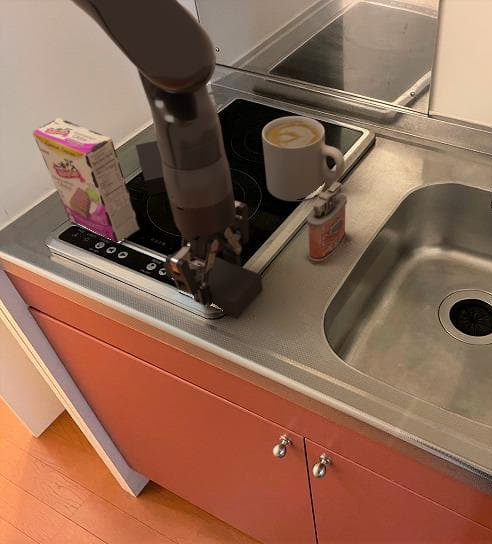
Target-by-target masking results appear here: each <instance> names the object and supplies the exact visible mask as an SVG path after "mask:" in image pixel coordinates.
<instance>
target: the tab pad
mask: <svg viewBox="0 0 492 544" xmlns="http://www.w3.org/2000/svg"><path fill="white" fill-rule="evenodd" d="M179 251H180V249H179V250H176V251H175V252H174V253H173V254H172V255H173V256H175V255H176V254H177V253H178V252H179ZM196 259H197V260H198V261H200V262H203V263H205V260H202V259H199V258H197V257H196ZM162 265H163V268H164V271H165V275H166V277H167V276H168V277H170V278H173V277H172V275H171V273H170V271H169V268H168V266H167V264H166V260H165V261H164V262H163V264H162ZM196 276H198V277H200V272H199V271H198V270H197V271H196ZM167 279H168V280H169V281H172V282H174V280H172V279H169V278H167ZM208 284H209V287H210V292H211V298H212V303H213V304H215V305H217V306H218V307H219V308H221V309H222V310H223V311H222V310H220V309H217V308H215V307H213V306H209V307H210V308H213V309H214V310H217V311H219V312H222V313H224V314H225V315H226V314H227V315H229V316H231V317H233V318H236V319H239V318H240V317H241V315H242V314H243V313H244V312H245V311H246V310H247V309H248V307H249V306H250V305H251V304H253V302H254V301H255V299H256V298H257V297H259V295H260V294H261V293H262V292H263V281H262V275H261V273H258V272H255V271H252V270H250V269H247V268H245V267H242V266H241V267H240V266H238V265H235V264H232V263H230V262H227V261H225V260H224V259H223V258H220V257H217V256H215V259H214V266H213V270H212V271H211V272H209V277H208ZM176 289H177V290H178V289H179V288H177V287H176ZM179 290H182V289H179ZM182 291H184V290H182ZM184 292H187V291H184ZM187 293H189V292H187ZM178 294H181V295H183V296H185V297H188V298H190V299H192V300H194V299H193V298H192V297H190V296H188V295H185V294H183V293H181V292H178ZM192 295H193V294H192Z"/></svg>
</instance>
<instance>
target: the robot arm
mask: <svg viewBox="0 0 492 544" xmlns="http://www.w3.org/2000/svg"><path fill="white" fill-rule="evenodd" d="M70 1H71V2H72V3H73V4H74V6H77V7H78V8H79V9H80V10H81V11H83V12H84V13H85V14H86V15H87V16H88V17H89V18H91V20H93V21H94V22H95V23H96V24H97V26H98V27H99V28H100V29H101V30H102V31H103V32H104V33H105V34H106V35H107V37H108V38H109V39H110V41H112V43H113V44H114V45H115V46H116V47H117V48H118V49H119V50H120V51H121V52H122V54H123V55H124V56H125V57H126V58H127V59H128V60H129V61H130V62H131V64H132V65H133V66H134V67H135V68H136V70H137V73H138V77H139V79H140V82H141V86H142V88H143V92H144V94H145V97H146V100H147V102H148V106H149V108H150V113H151V117H152V122H153V128H154V129H153V130H154V134H155V138H156V141H157V143H158V147H159V151H160V155H161V160H162V169H163V177H164V182H165V186H166V190H167V192H166V193H167V198H168V201H169V205H170V210H171V214H172V217H173V222H174V224H175V226H176V227H177V230H179V232H180V233H181V249H179V252H178V253H177V254H176V255H175V256H173V254H168V255H167V256H166V257H165V261H166V264H167V266H168V268H169V271H170V273H171V275H172V277H173V279H174V281H173V282H174V284H175V286H176V289H177V288H179V289H182V290H184V291H187V292H189V293H190V294H193V296H194V299H193V300H194V301H195V303H197V304H200V305H202V306H205V307H210V305H211V304H212V298H211V292H210V287H209V284H208V277H209V272H211V271H212V270H213V266H214V259H215V257H217V256H218V253H220V252H222V257H223V260H225V261H227V262H230V263H232V264H235V265H238V266H240V267H242V258H241V253H242V251H243V250H242V249H243V247H242V245H243V244H246V243H248V241H249V239H250V235H249V232H250V231H249V208H248V207H249V205H248V204H247V203H244V202H241V201H238V200H235V196H234V188H233V182H232V175H231V169H230V163H229V161H228V157H227V154H226V149H225V145H224V137H223V132H222V126H221V120H220V116H219V113H218V110H217V107H216V105H215V103H214V101H213V99H212V97H211V95H210V92H209V90H208V87H207V85H208V84H209V83H210V81H211V80H212V78H213V76H214V73H215V70H216V64H217V54H216V49H215V46H214V45H215V44H214V42H213V40H212V38H211V36H210V35H209V33H208V32H207V30H206V29H205V28H204V26H203V25H202V24H201V23H200V22H199V20H198V19H197V18H196V17H195V16H194V15H193V14H192V12H191V11H190V10H189V9H188V8H187V7H185V6H184V5H183V4H181V3H180V2H179V1H178V0H70ZM238 228H239V231H238ZM196 257H197V258H199V259H202V260H205V263H203V262H200V261H198V260H197V259H196ZM197 270H198V271H199V272H200V277H198V276H196V271H197ZM206 305H207V306H206Z"/></svg>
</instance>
